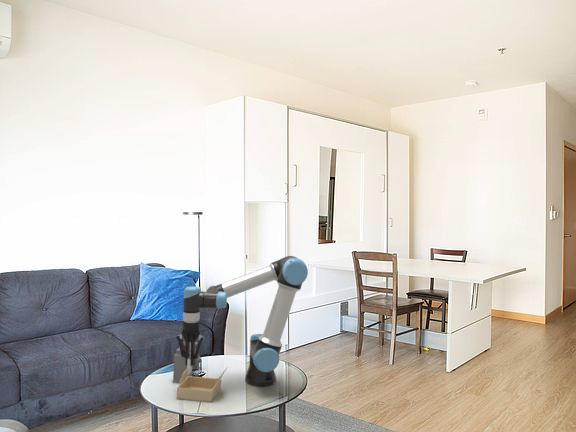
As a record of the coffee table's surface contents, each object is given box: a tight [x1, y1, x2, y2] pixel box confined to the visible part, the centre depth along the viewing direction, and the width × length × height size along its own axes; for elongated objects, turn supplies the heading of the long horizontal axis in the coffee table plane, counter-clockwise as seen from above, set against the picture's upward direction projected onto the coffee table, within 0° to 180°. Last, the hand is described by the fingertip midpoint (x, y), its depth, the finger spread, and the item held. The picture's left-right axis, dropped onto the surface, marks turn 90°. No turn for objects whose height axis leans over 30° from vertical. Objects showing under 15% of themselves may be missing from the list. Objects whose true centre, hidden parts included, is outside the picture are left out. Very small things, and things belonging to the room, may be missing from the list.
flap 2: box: [213, 367, 228, 388], centre depth 215 cm, size 6×13×1 cm
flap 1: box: [178, 369, 189, 386], centre depth 217 cm, size 6×13×1 cm
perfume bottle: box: [172, 343, 193, 384], centre depth 231 cm, size 7×7×18 cm
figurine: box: [178, 341, 201, 371], centre depth 249 cm, size 10×11×15 cm
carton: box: [175, 375, 222, 403], centre depth 216 cm, size 16×15×5 cm
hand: (189, 372), depth 216 cm, fingers closed
